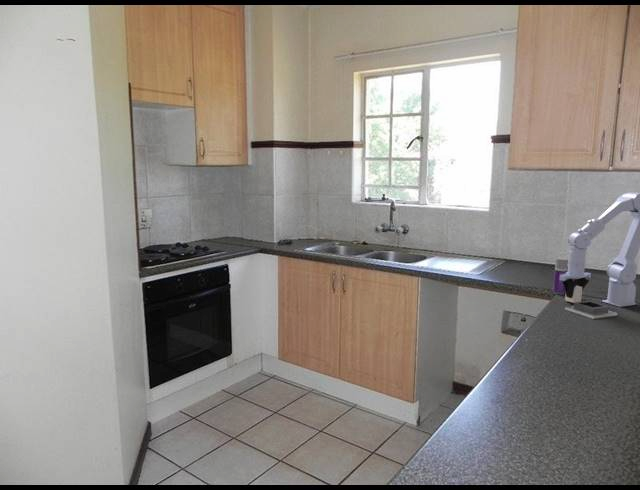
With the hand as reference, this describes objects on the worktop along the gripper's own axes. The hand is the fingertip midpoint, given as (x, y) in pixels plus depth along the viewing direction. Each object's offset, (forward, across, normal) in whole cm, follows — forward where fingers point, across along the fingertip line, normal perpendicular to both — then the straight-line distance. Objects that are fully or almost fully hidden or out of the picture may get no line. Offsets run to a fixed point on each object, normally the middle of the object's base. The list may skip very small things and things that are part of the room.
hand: (573, 296), depth 187 cm
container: (+3, -7, -13) cm, 15 cm away
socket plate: (+2, +5, +12) cm, 13 cm away
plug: (+2, 0, 0) cm, 2 cm away
